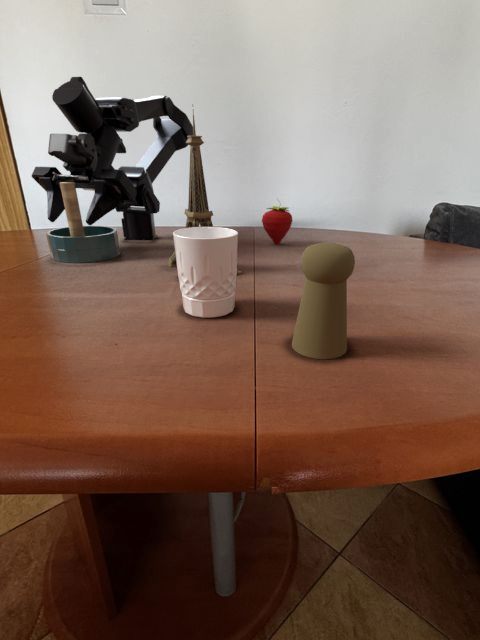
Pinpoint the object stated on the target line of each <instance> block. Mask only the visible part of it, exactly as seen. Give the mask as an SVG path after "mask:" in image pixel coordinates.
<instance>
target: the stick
mask: <svg viewBox="0 0 480 640" xmlns="http://www.w3.org/2000/svg"><path fill="white" fill-rule="evenodd" d="M60 187H61V192H62V197H63V202H64V206H65V210H64V211H65V216H66V220H67V225H68V226H67V227H69V230H70V235H71V237H84V236H85V234H84V229H83V226H84V224H83V219H82V214H81V209H80V208H81V207H80V203H79V198H78V197H79V196H78V193H77V188H76V187H75V182H60Z"/></svg>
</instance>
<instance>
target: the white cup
mask: <svg viewBox="0 0 480 640" xmlns="http://www.w3.org/2000/svg"><path fill="white" fill-rule="evenodd" d="M172 237H173V245H174V251H175V253H176V261H177V267H176V268H177V277H179V278H178V282H179V289H180V292H181V299H182V307H183V310H184V312H185V314H188V315H190V316H192V317H195V318H196V317H197V318H204V319H205V318H208V319H209V318H210V319H211V318H219V317H223V316H227V315H228V314H230V313H233V311H234V309H235V306H236V304H235V303H236V289H237V276H238V274H237V269H238V250H239V249H238V246H239V245H238V244H239V232H238V231H237V230H235V229H232V228H227V227H220V226H219V227H218V226H213V227H200V226H199V227H191V228H185V227H184V228H178V229H176V230H174V231H173V232H172Z"/></svg>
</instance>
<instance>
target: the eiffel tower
mask: <svg viewBox="0 0 480 640" xmlns="http://www.w3.org/2000/svg"><path fill="white" fill-rule="evenodd" d="M192 106H194V103H192ZM194 114H195V113H194V110H192V126H193V136H187V137H189V138H188V140H187V141H186V143H187V144H189V145H188V146H189V147H190V148H189V175H188V177H189V178H188V202H187V203H188V206H187V207H188V208H185V209H184V215H185V216H186V220H185V221H186V222H185V227H184V228H191V227H214V225H213V221H212V217H213V216H214V213H213V210H210V207H209V201H208V195H207V188H206V179H205V172H204V167H203V158H202V151H201V146H202V145H203V144H205V141H203V139H202V138H203V136H202V135H197V134H196V133H197V132H196V123H195V121H196V120H195V115H194ZM165 265H166V266H168V268H177V261H176V253H175V250H174V251H173V253H172V254H171V255H170V257H169V259H168V262H166V263H165ZM242 273H243V271H242V270H239V269H238V268H237V275H242ZM177 277H178V276H177ZM178 279H179V277H178Z"/></svg>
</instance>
